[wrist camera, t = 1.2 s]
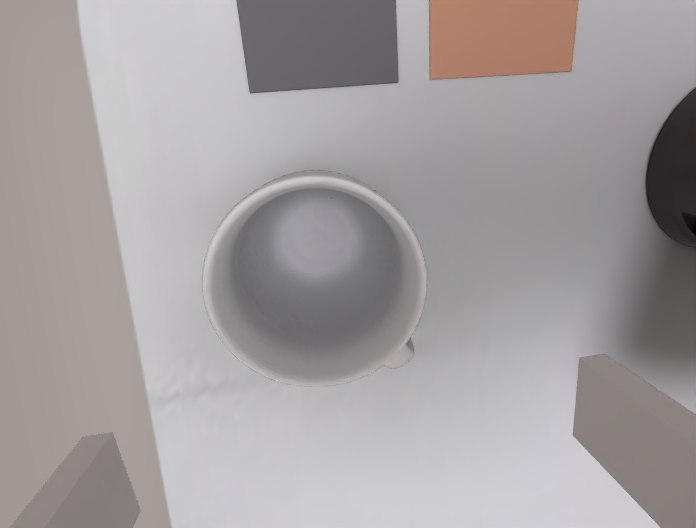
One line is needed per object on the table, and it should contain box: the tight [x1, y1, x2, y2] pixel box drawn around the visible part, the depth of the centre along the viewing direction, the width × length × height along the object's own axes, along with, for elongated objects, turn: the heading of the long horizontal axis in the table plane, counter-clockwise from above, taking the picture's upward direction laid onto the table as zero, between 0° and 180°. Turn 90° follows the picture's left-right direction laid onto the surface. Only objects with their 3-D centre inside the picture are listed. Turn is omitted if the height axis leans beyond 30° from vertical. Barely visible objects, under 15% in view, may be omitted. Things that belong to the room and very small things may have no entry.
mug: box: [202, 170, 427, 387], centre depth 24 cm, size 15×11×13 cm
